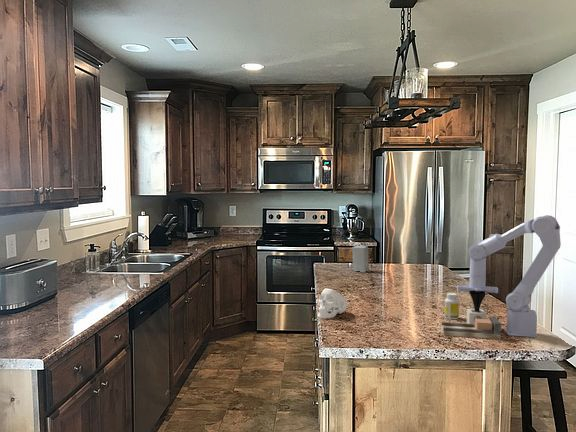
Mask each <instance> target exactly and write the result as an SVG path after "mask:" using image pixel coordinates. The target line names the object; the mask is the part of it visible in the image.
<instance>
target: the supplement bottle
mask: <svg viewBox="0 0 576 432" xmlns="http://www.w3.org/2000/svg"><path fill="white" fill-rule="evenodd" d="M459 312H460V301H459V300H458V294H457V293H455V292H454V293H453V292H447V293H446V298H445V300H444V318H446V319H447V320H457V319H459V314H460V313H459Z"/></svg>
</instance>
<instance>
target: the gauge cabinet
mask: <svg viewBox="0 0 576 432" xmlns="http://www.w3.org/2000/svg"><path fill="white" fill-rule="evenodd" d="M473 310H474V308H467V309H466V324H475V319H487V313H486V311H485V309H479V310H480V311H481V313H477V312H473Z"/></svg>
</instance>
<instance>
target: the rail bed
mask: <svg viewBox="0 0 576 432" xmlns="http://www.w3.org/2000/svg"><path fill="white" fill-rule="evenodd" d="M489 320H490V321H491V322H492V330H478V329H475V324H467V322H466V323H465V322H451V321H449V322H445V321H441V324H440V327H441V332H442V334H443V336H446V337H461V338H462V337H464V338H477V339H478V338H479V339H490V340H501V339H502V337H501V336H502V323H501V322H500V321H499V319H498V318H497V317H496V316H489Z"/></svg>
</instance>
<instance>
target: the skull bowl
mask: <svg viewBox="0 0 576 432" xmlns="http://www.w3.org/2000/svg"><path fill="white" fill-rule="evenodd" d="M348 302H349V301H348V300H347V299H346V298H345V296H343V295H342V294H341V293H339V292H338V291H337V290H334V289H331V288H324V289H323V290H322V291H321V294H320V296H319V298H318V301H317V304H318V305H319V307H318V314H317V318H320V319H322V320H326V319H327V318H328V319H332V318H335V317H336V315H337V314H342V313H344V312H345V311H346V309H347V307H348V306H349V303H348Z"/></svg>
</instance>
